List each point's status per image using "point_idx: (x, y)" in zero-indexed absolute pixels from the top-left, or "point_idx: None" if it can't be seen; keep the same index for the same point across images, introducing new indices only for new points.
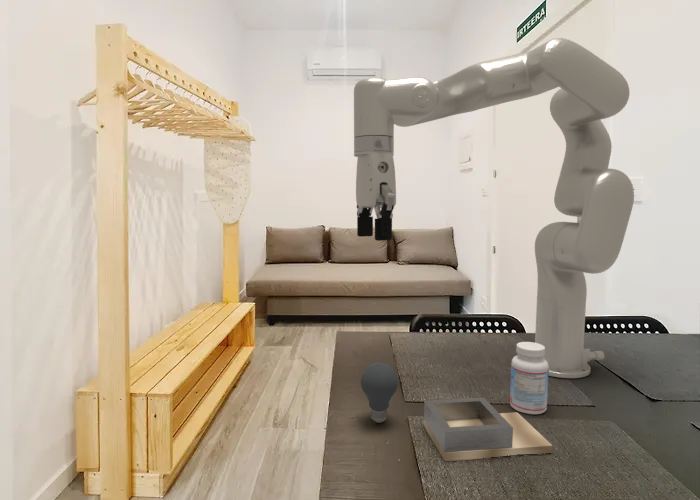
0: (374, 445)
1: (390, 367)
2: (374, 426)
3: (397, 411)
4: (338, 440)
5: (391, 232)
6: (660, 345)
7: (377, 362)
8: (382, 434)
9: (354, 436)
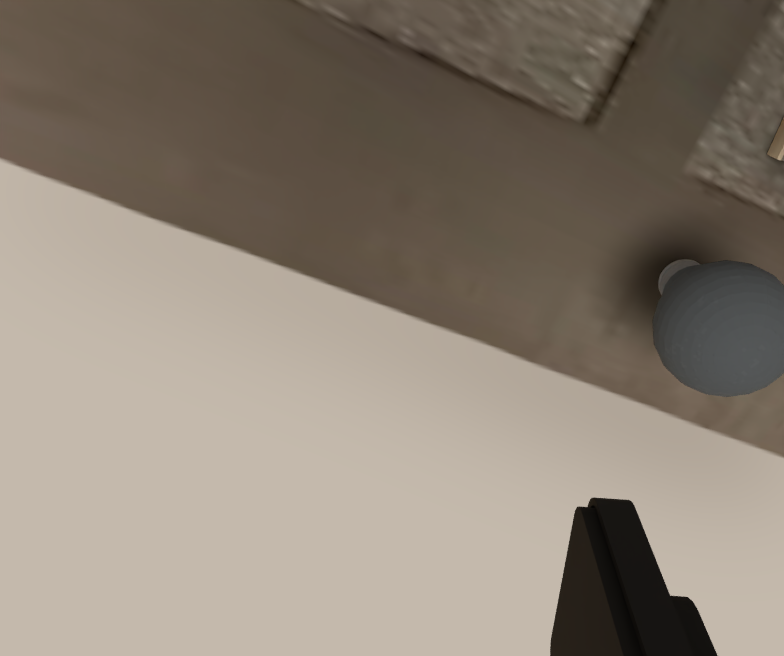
0: None
1: (771, 316)
2: None
3: (640, 187)
4: (705, 407)
5: (651, 563)
6: None
7: (728, 355)
8: None
9: None
